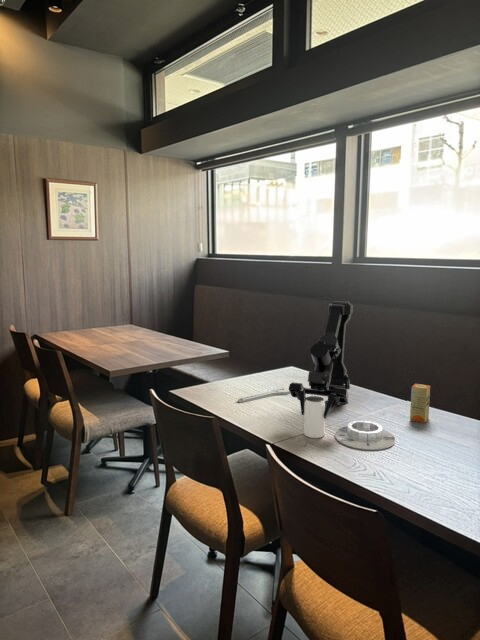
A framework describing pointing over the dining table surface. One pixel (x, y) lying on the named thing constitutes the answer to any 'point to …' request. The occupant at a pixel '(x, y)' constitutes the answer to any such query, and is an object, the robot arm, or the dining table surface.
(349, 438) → the rosette
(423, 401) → the shoe polish box
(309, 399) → the can
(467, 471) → the dining table surface
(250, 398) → the adjustable wrench
